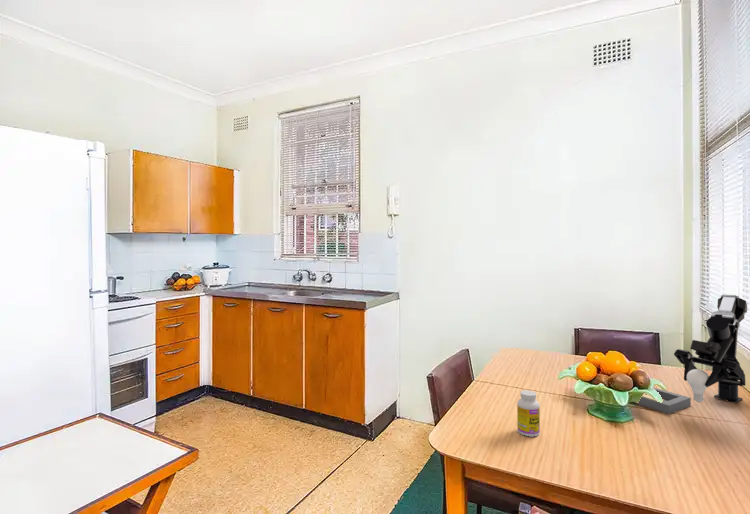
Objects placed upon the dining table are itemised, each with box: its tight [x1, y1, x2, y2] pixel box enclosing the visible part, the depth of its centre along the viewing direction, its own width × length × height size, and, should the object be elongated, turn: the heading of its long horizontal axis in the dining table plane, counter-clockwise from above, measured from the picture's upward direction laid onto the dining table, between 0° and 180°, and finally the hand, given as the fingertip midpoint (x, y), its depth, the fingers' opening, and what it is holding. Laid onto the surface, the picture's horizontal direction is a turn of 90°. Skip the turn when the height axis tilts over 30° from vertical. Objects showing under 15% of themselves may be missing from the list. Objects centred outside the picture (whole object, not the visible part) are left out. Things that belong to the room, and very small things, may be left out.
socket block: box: [637, 387, 692, 415], centre depth 151 cm, size 14×13×3 cm
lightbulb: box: [686, 368, 710, 403], centre depth 138 cm, size 6×6×11 cm
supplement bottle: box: [516, 389, 541, 438], centre depth 131 cm, size 7×7×13 cm
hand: (695, 383), depth 137 cm, fingers closed on lightbulb, 6 cm apart
